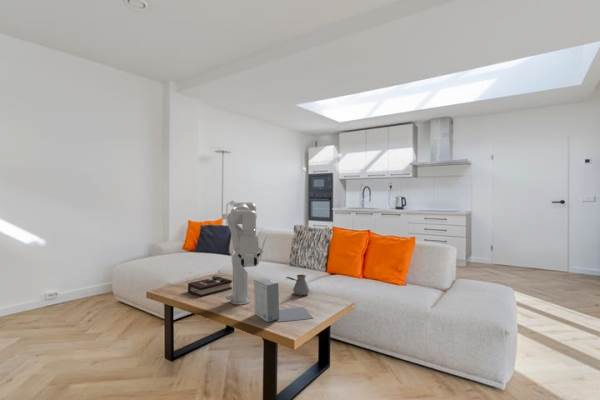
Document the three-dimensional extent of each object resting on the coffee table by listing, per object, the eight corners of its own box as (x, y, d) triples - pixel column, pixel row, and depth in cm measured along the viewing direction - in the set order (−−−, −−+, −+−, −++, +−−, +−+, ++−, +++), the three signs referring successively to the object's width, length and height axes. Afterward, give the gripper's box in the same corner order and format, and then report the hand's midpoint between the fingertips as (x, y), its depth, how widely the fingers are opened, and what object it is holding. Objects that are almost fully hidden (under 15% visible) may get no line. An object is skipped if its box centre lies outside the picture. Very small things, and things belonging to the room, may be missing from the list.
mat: (277, 322, 167) (277, 321, 167) (271, 310, 184) (271, 310, 184) (313, 318, 172) (313, 317, 172) (304, 307, 190) (304, 306, 189)
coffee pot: (299, 290, 224) (300, 269, 224) (312, 293, 217) (312, 272, 217) (279, 298, 207) (279, 275, 207) (292, 301, 200) (292, 278, 200)
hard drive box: (279, 319, 170) (278, 283, 170) (267, 322, 166) (266, 285, 165) (266, 311, 183) (265, 277, 182) (254, 314, 178) (253, 279, 178)
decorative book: (183, 282, 218) (220, 274, 241) (183, 293, 218) (220, 284, 241) (198, 287, 206) (235, 278, 228) (198, 299, 206) (235, 289, 228)
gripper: (233, 234, 165) (233, 268, 165) (265, 233, 170) (265, 266, 170) (232, 232, 172) (232, 265, 173) (263, 232, 177) (263, 263, 177)
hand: (249, 265), depth 171 cm, fingers open, 5 cm apart
